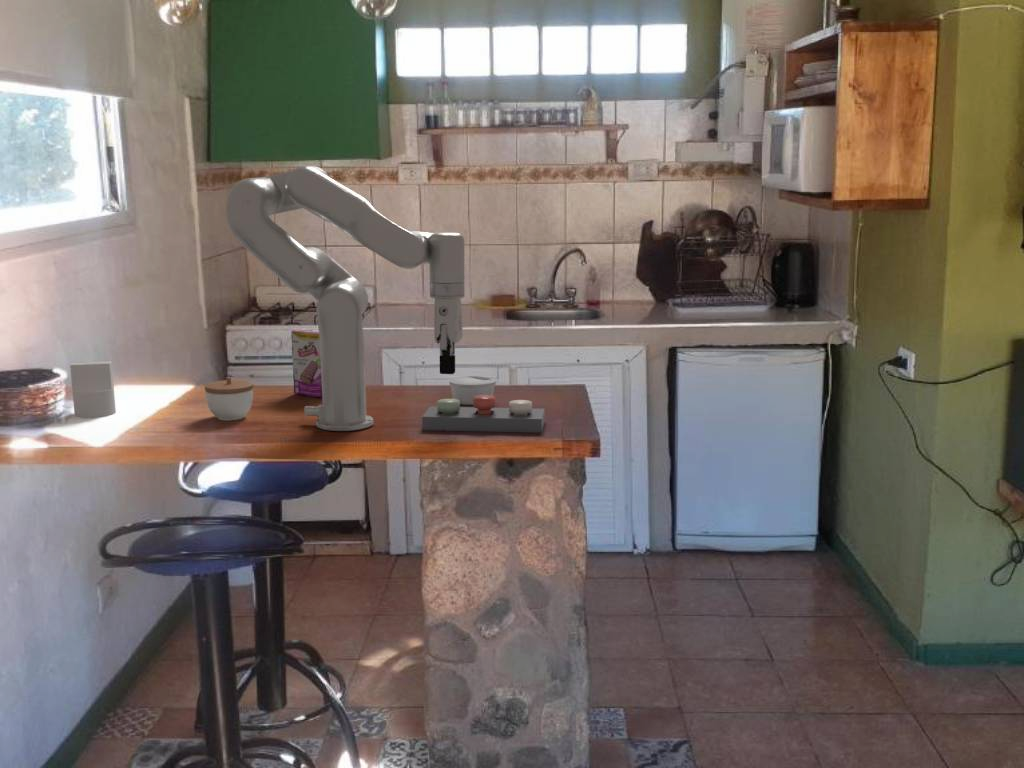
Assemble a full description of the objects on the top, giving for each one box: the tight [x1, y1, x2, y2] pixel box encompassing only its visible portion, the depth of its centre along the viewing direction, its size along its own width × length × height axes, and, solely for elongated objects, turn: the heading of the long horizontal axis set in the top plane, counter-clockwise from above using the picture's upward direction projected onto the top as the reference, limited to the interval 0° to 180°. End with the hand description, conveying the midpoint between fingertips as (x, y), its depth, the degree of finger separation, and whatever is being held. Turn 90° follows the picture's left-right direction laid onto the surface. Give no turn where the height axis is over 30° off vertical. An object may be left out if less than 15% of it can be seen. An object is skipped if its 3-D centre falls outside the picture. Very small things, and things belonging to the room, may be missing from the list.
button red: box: [472, 395, 497, 415], centre depth 236 cm, size 5×5×5 cm
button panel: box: [421, 405, 546, 433], centre depth 236 cm, size 26×10×3 cm, turn 84°
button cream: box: [508, 399, 533, 416], centre depth 235 cm, size 5×5×5 cm
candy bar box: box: [290, 327, 322, 399], centre depth 267 cm, size 11×5×16 cm, turn 59°
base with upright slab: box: [69, 360, 117, 419], centre depth 248 cm, size 9×9×12 cm
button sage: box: [436, 398, 461, 414], centre depth 237 cm, size 5×5×5 cm
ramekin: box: [449, 375, 497, 406], centre depth 261 cm, size 11×11×5 cm
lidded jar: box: [204, 376, 254, 422], centre depth 244 cm, size 11×11×9 cm
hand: (447, 373), depth 235 cm, fingers closed
